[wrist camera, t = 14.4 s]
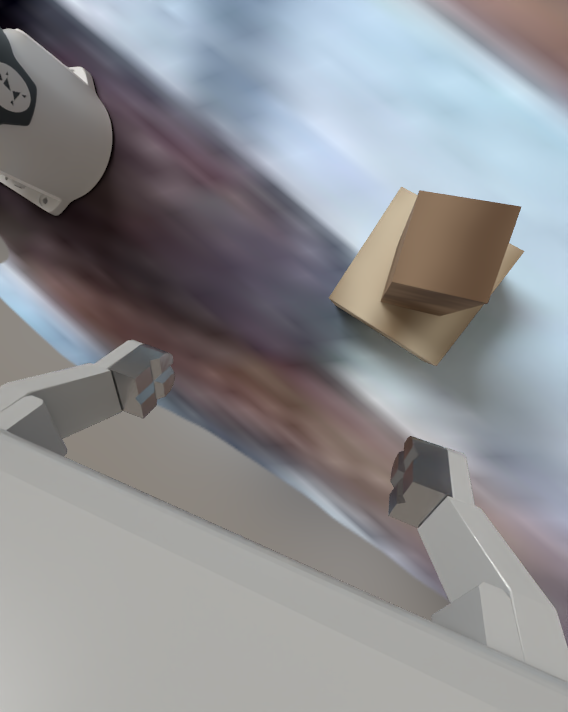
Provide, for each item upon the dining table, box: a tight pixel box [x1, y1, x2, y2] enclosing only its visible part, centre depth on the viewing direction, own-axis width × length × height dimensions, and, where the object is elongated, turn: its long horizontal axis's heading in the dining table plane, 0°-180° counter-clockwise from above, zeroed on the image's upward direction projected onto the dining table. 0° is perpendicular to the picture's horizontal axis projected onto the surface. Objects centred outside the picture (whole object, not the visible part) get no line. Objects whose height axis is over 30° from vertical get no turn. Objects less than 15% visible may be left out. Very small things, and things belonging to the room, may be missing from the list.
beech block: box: [329, 187, 524, 366], centre depth 29 cm, size 11×11×6 cm
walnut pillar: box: [380, 191, 521, 316], centre depth 21 cm, size 5×5×10 cm
